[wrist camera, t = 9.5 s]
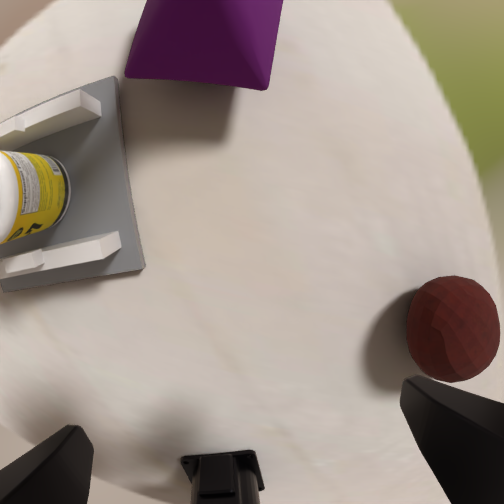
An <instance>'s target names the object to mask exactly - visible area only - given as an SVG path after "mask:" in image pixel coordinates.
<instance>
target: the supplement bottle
mask: <svg viewBox="0 0 504 504" xmlns="http://www.w3.org/2000/svg"><path fill="white" fill-rule="evenodd" d="M70 196H71V186H70V180H69V176H68V173H67V171H66V169H65V167H64V166H63V165H62V163H61V162H60V161H58V160H57V159H55V158H54V157H51V156H48V155H40V154H31V153H21V152H10V151H0V244H3V243H6V242H8V241H11V240H15V239H17V238H20V237H24V236H27V235H29V234H33V233H36V232H39V231H42V230H45V229H48V228H50V227H52V226H54V225H55V224H57V223H58V222H59V221H60V220H61V219H62V217H63V216H64V214H65V213H66V211H67V208H68V205H69V202H70Z"/></svg>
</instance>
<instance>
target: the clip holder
mask: <svg viewBox="0 0 504 504" xmlns="http://www.w3.org/2000/svg"><path fill="white" fill-rule="evenodd" d="M0 151H10V152H21V153H31V154H40V155H48V156H51V157H54V158H55V159H57V160H58V161H60V162H61V163H62V165H63V166H64V167H65V169H66V171H67V173H68V176H69V180H70V186H71V196H70V202H69V205H68V208H67V211H66V213H65V214H64V216H63V217H62V219H61V220H60V221H59V222H58V223H57V224H55V225H54V226H52V227H50V228H48V229H45V230H42V231H39V232H36V233H33V234H29V235H27V236H24V237H20V238H17V239H15V240H11V241H8V242H6V243H3V244H0V283H1V287H2V290H3V293H4V292H10V291H16V290H22V289H28V288H33V287H39V286H45V285H51V284H57V283H63V282H69V281H75V280H81V279H86V278H92V277H98V276H104V275H110V274H116V273H122V272H128V271H134V270H140V269H143V268H144V267H145V266H146V264H145V260H144V255H143V251H142V246H141V241H140V237H139V232H138V227H137V221H136V216H135V211H134V205H133V200H132V194H131V188H130V182H129V175H128V168H127V162H126V154H125V147H124V139H123V130H122V121H121V111H120V100H119V87H118V79H117V78H116V77H115V76H111V77H108V78H105V79H102V80H99V81H96V82H93V83H90V84H87V85H84V86H82V87H79V88H76V89H74V90H71V91H68V92H66V93H63V94H61V95H58V96H56V97H54V98H51V99H49V100H46V101H44V102H42V103H40V104H37V105H35V106H33V107H31V108H29V109H27V110H25V111H23V112H20V113H18V114H16V115H14V116H12V117H10V118H9V119H7V120H5V121H3V122H1V123H0Z"/></svg>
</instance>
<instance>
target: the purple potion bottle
mask: <svg viewBox="0 0 504 504" xmlns="http://www.w3.org/2000/svg"><path fill="white" fill-rule="evenodd" d="M282 4H283V0H147V2H146V4H145V7H144V10H143V13H142V16H141V19H140V21H139V24H138V27H137V31H136V34H135V37H134V40H133V43H132V47H131V50H130V54H129V57H128V61H127V64H126V68H125V72H124V74H125V77H127V78H136V79H163V80H179V81H191V82H202V83H211V84H220V85H227V86H235V87H242V88H248V89H254V90H260V91H263V90H267V88H268V87H269V81H270V75H271V69H272V63H273V57H274V51H275V45H276V39H277V33H278V27H279V22H280V16H281V10H282Z"/></svg>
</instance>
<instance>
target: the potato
mask: <svg viewBox="0 0 504 504" xmlns="http://www.w3.org/2000/svg"><path fill="white" fill-rule="evenodd" d="M406 332H407V343H408V347H409V351H410V353H411V356H412V358H413V359H414V361H415V362H416V364H417V365H418V367H419V368H420V369H421V370H422V371H423V372H424V373H425V374H427V375H429V376H430V377H432V378H434V379H436V380H440V381H445V382H449V383H453V382H459V381H465V380H468V379H471V378H473V377H475V376H476V375H478V374H480V373H481V372H482V371H483V370H485V369H486V368H487V367H488V366H489V365H490V363H491V362H492V360H493V359H494V357H495V356H496V353H497V350H498V347H499V342H500V323H499V318H498V313H497V308H496V305H495V303H494V301H493V299H492V298H491V296H490V294H489V293H488V292H487V291H486V290H485V289H484V288H483V287H482V286H481V285H480V284H478V283H477V282H476V281H474V280H472V279H468V278H464V277H459V276H446V277H438V278H436V279H433V280H431V281H429V282H426V283H425V284H424V285H423V286H422V287H421V288H419V289H418V291H417V292H416V294H415V296H414V298H413V299H412V302H411V305H410V308H409V311H408V317H407V331H406Z"/></svg>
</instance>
